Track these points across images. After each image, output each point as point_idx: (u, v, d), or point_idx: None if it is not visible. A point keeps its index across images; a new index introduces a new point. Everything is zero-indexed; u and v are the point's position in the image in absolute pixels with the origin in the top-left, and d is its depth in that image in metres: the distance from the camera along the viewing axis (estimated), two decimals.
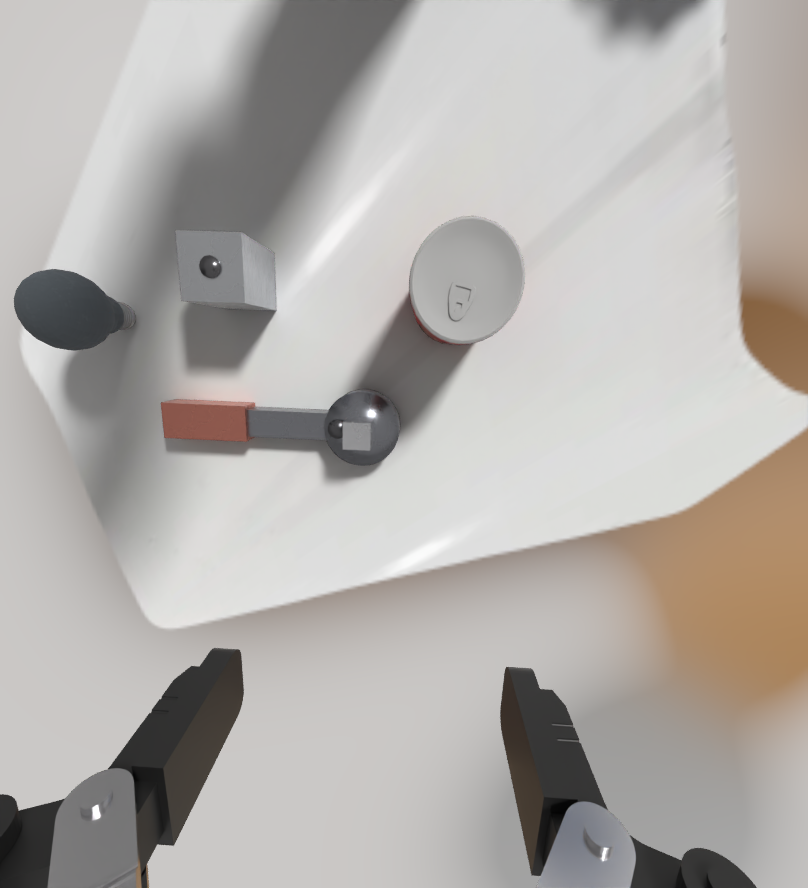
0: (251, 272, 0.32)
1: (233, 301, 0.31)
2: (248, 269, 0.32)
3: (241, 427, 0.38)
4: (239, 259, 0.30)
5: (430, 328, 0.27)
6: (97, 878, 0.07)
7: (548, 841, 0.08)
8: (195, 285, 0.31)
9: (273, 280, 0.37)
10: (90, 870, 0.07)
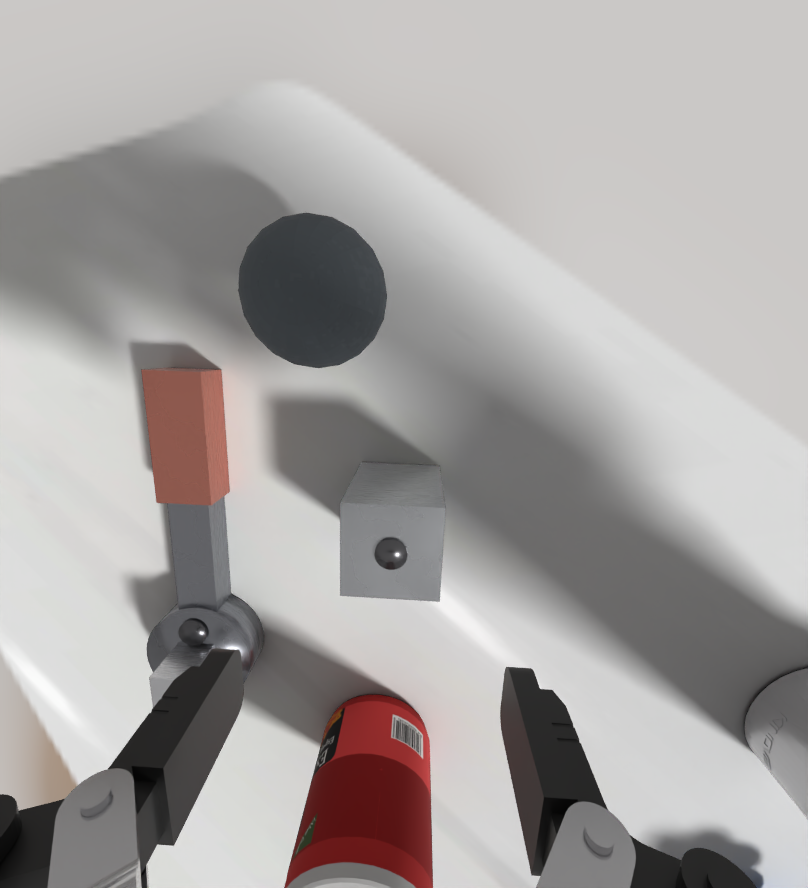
0: None
1: (341, 579, 0.20)
2: None
3: (177, 496, 0.25)
4: (401, 594, 0.20)
5: None
6: (97, 878, 0.07)
7: (548, 841, 0.08)
8: (363, 527, 0.19)
9: None
10: (90, 870, 0.07)
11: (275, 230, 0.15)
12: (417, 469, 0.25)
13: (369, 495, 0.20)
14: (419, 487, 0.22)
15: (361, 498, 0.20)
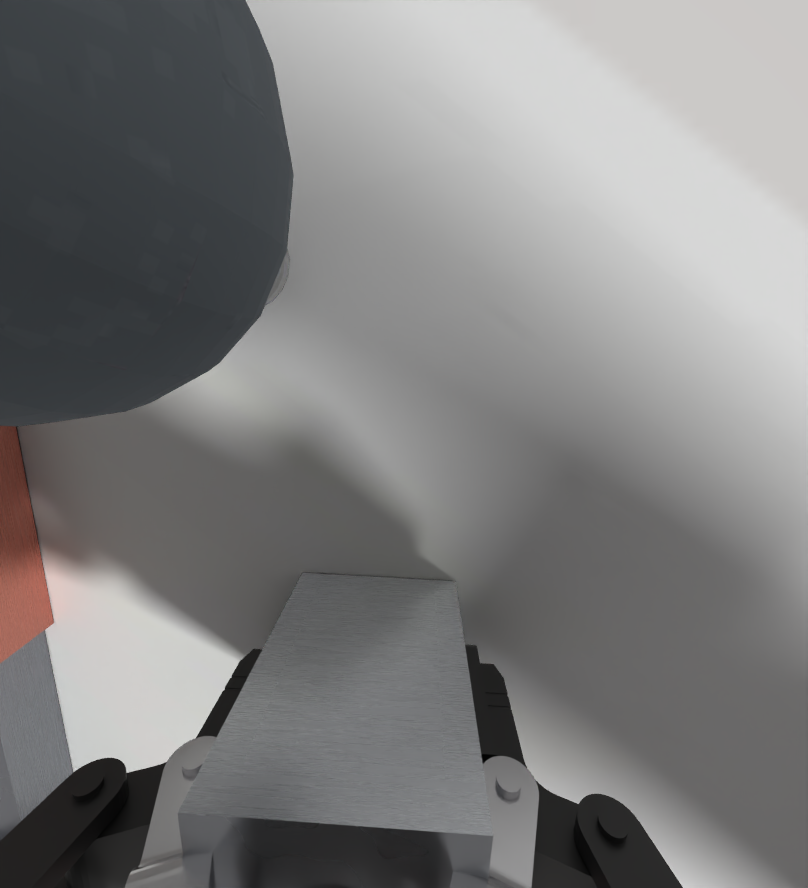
0: None
1: None
2: None
3: None
4: None
5: None
6: None
7: None
8: (252, 872, 0.07)
9: None
10: None
11: None
12: (410, 597, 0.12)
13: (279, 748, 0.08)
14: (414, 690, 0.09)
15: (251, 772, 0.07)
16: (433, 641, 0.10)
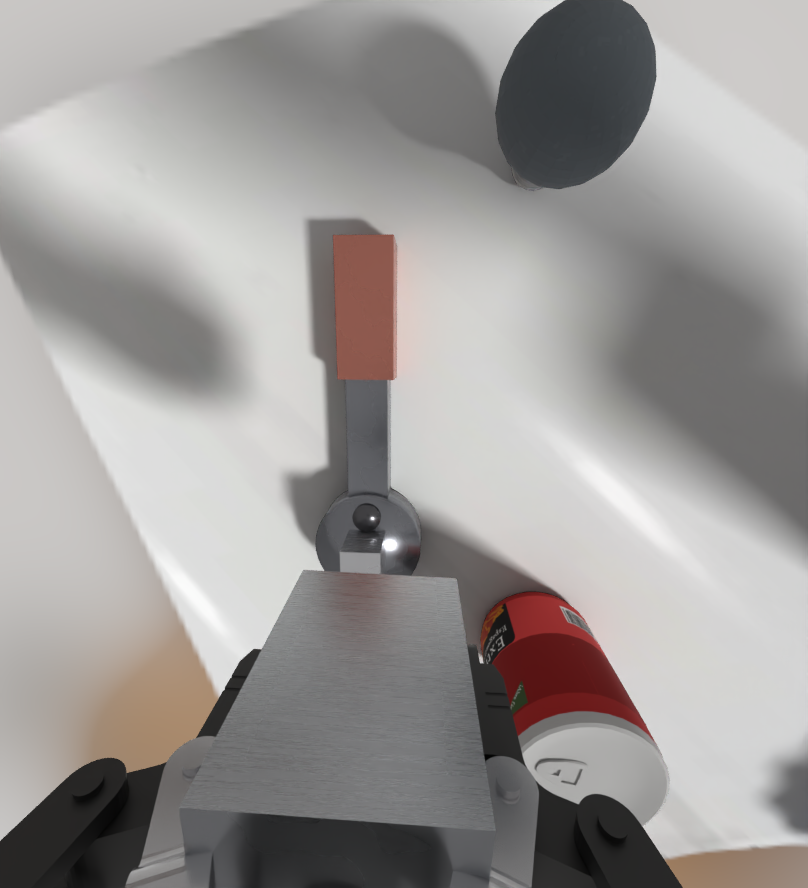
0: None
1: None
2: None
3: (359, 372, 0.24)
4: None
5: (528, 745, 0.20)
6: None
7: None
8: (254, 867, 0.07)
9: None
10: (181, 830, 0.07)
11: (571, 3, 0.14)
12: (412, 594, 0.12)
13: (281, 744, 0.07)
14: (415, 686, 0.09)
15: (253, 768, 0.07)
16: (434, 638, 0.10)
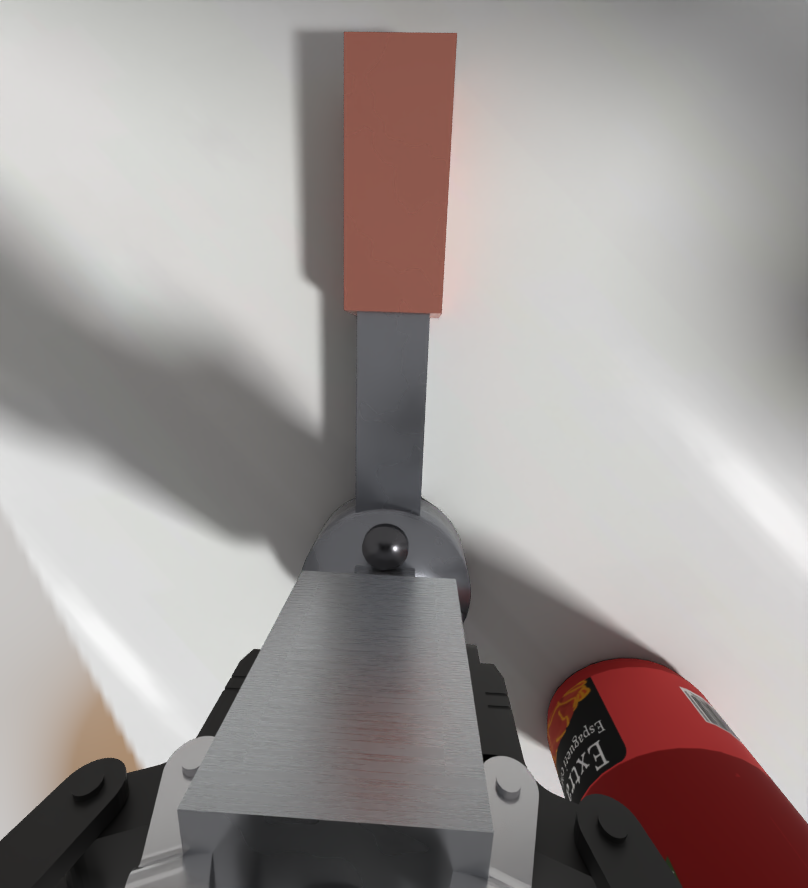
0: None
1: None
2: None
3: (382, 298, 0.14)
4: None
5: None
6: None
7: None
8: (252, 869, 0.07)
9: None
10: None
11: None
12: (411, 595, 0.12)
13: (279, 745, 0.07)
14: (414, 687, 0.09)
15: (251, 769, 0.07)
16: (433, 639, 0.10)
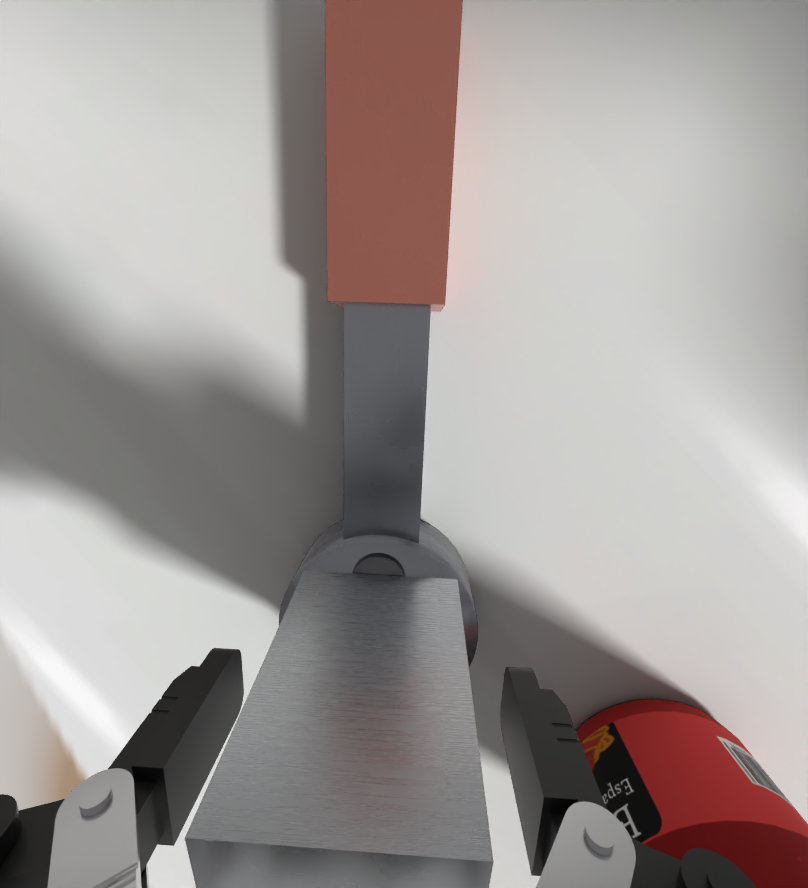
0: None
1: None
2: None
3: (373, 285, 0.12)
4: None
5: None
6: (97, 878, 0.07)
7: (548, 841, 0.08)
8: (260, 886, 0.07)
9: None
10: (90, 870, 0.07)
11: None
12: (412, 597, 0.12)
13: (283, 767, 0.08)
14: (416, 702, 0.09)
15: (256, 794, 0.07)
16: (435, 647, 0.10)
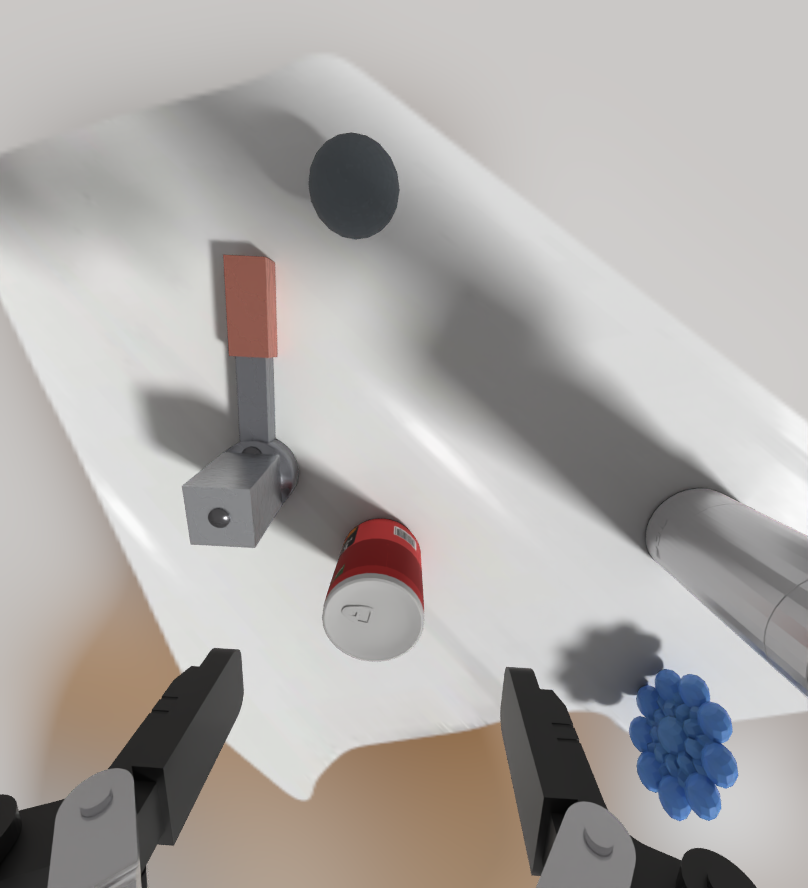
0: None
1: (190, 534, 0.31)
2: None
3: (244, 351, 0.35)
4: (230, 543, 0.31)
5: (333, 594, 0.31)
6: (97, 878, 0.07)
7: (548, 841, 0.08)
8: (199, 501, 0.30)
9: None
10: (90, 870, 0.07)
11: (336, 140, 0.25)
12: (259, 458, 0.35)
13: (206, 480, 0.31)
14: (246, 474, 0.32)
15: (198, 482, 0.30)
16: (259, 466, 0.34)
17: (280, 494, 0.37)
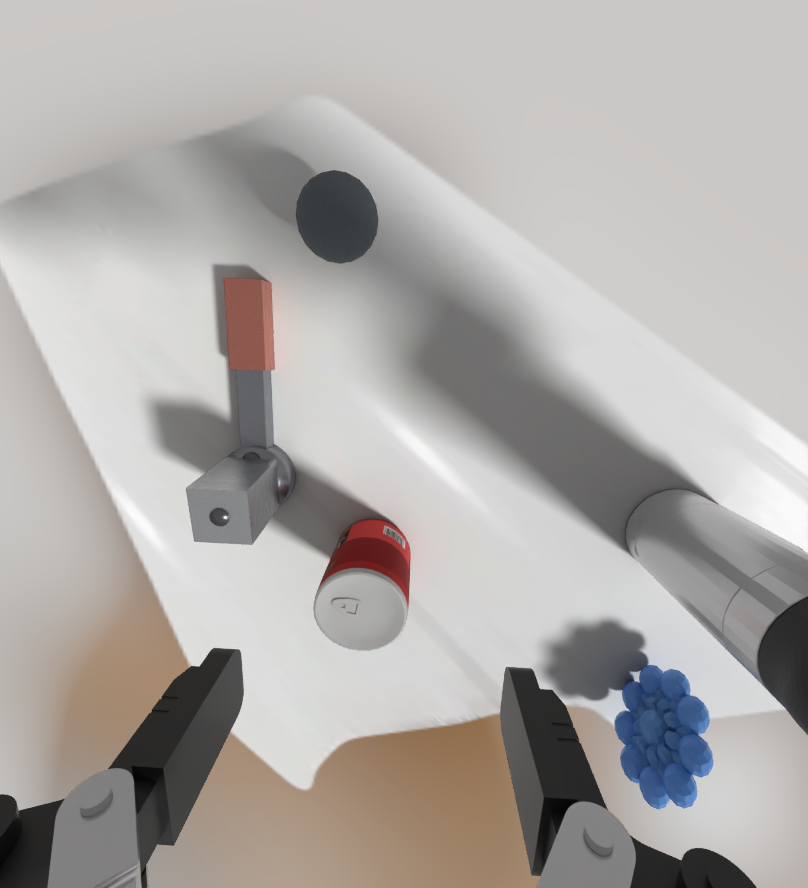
0: None
1: (193, 532, 0.34)
2: None
3: (243, 365, 0.38)
4: (230, 540, 0.34)
5: (323, 587, 0.33)
6: (97, 878, 0.07)
7: (548, 841, 0.08)
8: (201, 502, 0.33)
9: None
10: (90, 870, 0.07)
11: (318, 178, 0.28)
12: (257, 462, 0.38)
13: (208, 483, 0.34)
14: (244, 477, 0.35)
15: (201, 485, 0.33)
16: (257, 470, 0.37)
17: (277, 496, 0.40)
